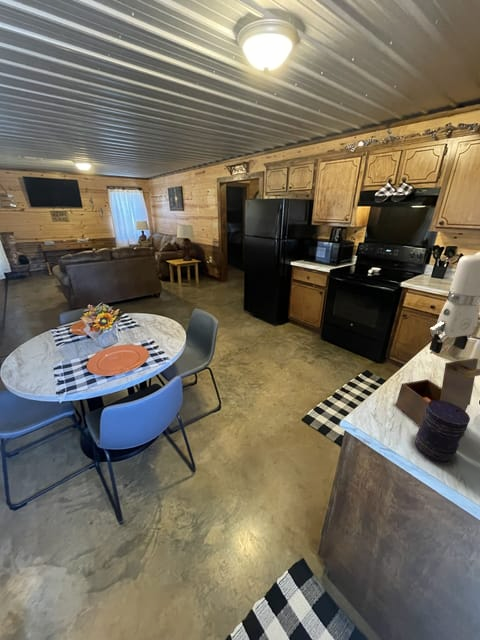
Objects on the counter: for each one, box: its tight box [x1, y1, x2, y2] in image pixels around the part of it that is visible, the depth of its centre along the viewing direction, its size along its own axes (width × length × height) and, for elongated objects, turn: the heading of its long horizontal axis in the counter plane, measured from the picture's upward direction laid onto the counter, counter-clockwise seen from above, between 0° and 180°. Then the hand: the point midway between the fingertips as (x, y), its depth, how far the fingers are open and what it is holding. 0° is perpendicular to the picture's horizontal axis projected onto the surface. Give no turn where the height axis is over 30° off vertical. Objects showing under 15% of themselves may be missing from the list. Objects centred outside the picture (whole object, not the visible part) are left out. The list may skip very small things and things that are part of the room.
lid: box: [440, 357, 480, 407], centre depth 79 cm, size 16×12×5 cm
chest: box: [395, 378, 469, 427], centre depth 91 cm, size 15×12×10 cm
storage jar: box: [413, 400, 471, 465], centre depth 77 cm, size 10×10×15 cm
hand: (446, 349), depth 83 cm, fingers open, 9 cm apart
